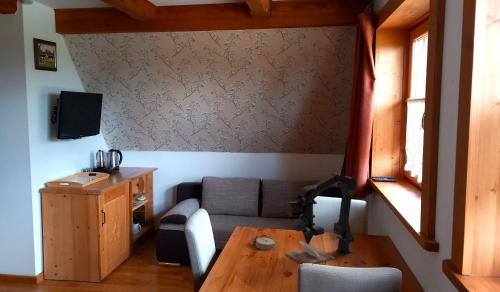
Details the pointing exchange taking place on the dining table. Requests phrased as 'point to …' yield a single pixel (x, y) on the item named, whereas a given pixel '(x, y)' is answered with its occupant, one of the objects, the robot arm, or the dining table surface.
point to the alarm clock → (264, 242)
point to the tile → (309, 248)
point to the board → (309, 256)
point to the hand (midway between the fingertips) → (307, 243)
